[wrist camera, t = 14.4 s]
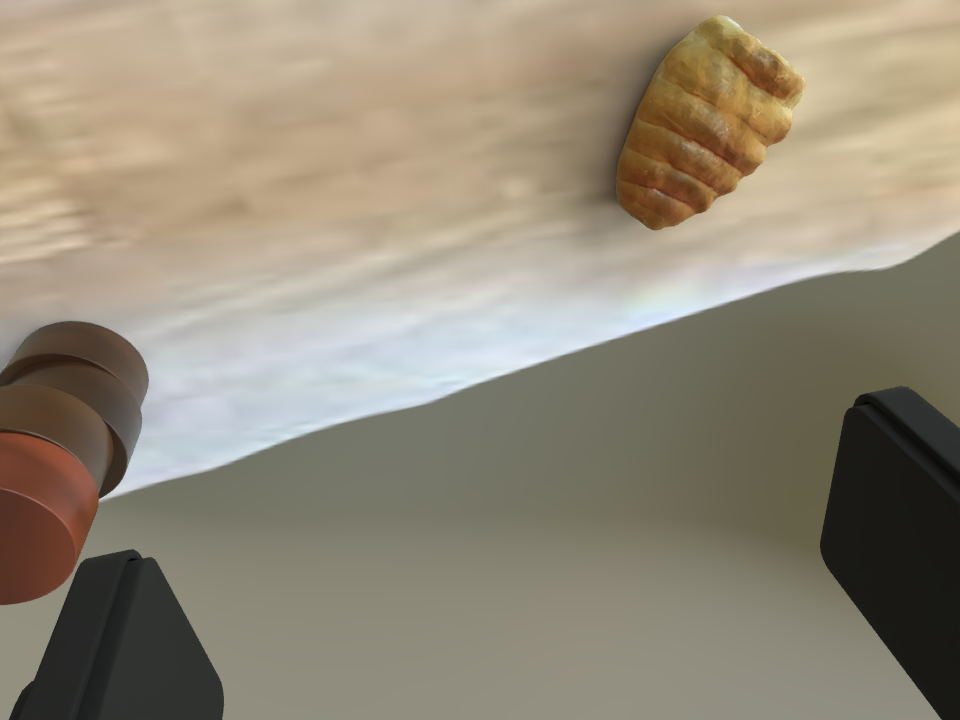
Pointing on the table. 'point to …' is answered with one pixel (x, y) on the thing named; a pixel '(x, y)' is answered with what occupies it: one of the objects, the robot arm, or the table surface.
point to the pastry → (704, 123)
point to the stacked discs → (78, 396)
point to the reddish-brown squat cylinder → (40, 516)
